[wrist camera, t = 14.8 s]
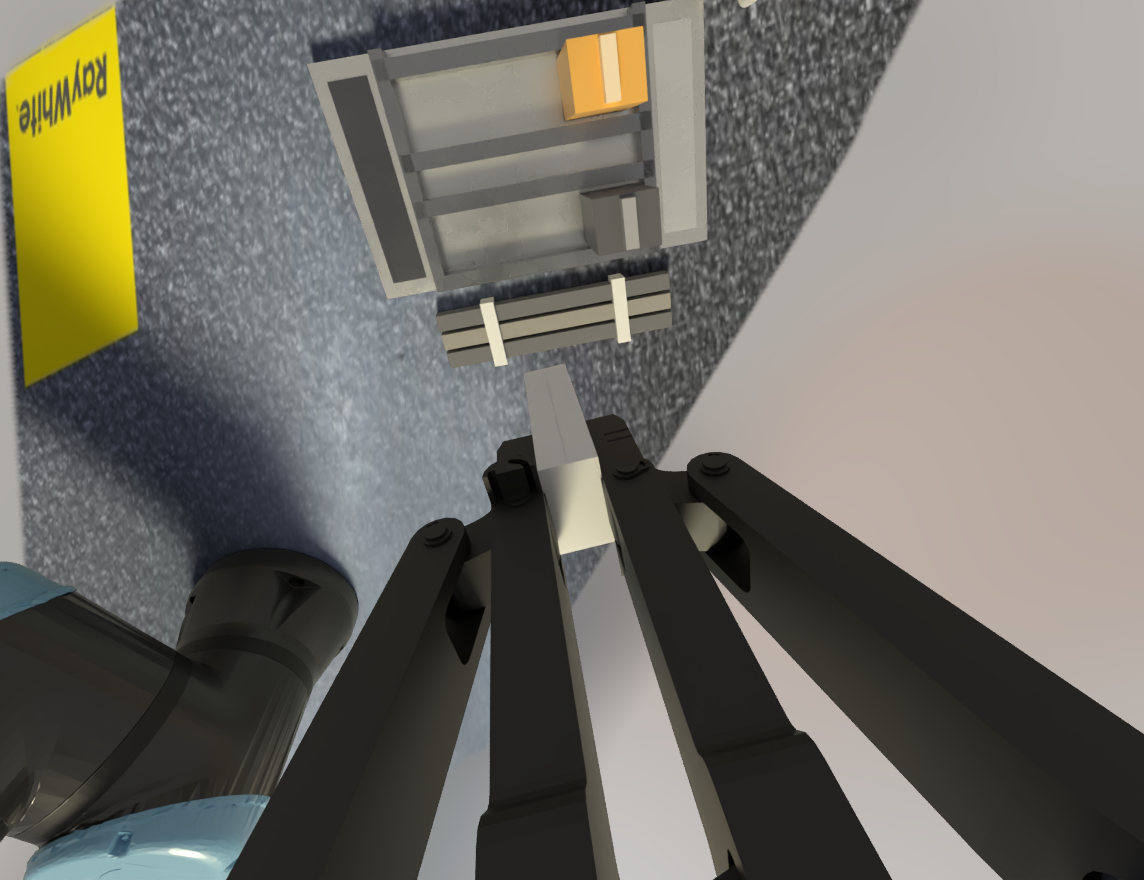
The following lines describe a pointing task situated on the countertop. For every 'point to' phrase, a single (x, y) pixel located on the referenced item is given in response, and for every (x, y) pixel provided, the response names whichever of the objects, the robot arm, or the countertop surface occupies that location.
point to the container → (745, 2)
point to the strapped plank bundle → (556, 319)
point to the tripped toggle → (602, 73)
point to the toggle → (622, 218)
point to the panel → (512, 147)
